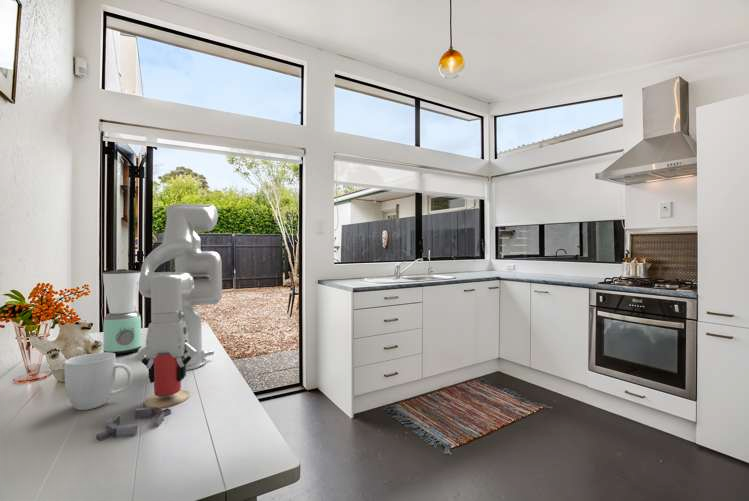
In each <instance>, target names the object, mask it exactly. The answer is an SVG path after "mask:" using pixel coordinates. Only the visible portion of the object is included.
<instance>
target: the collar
mask: <svg viewBox="0 0 749 501" xmlns="http://www.w3.org/2000/svg"><path fill="white" fill-rule="evenodd" d="M171 414H172V410H171V409H170V408H169V407H166V408H164V409H163V408H157V407H155V408H154V407H146V406H145V407H139V408H138V407H137V408H136V409H135V410H134V416H135V417H134V418H135V419H141V418H152V428H159V427H160V425H161V424H162V422H163V421H164V420H165V417H166V416H168V415H171ZM105 426H106V427H105V431H103V432H100V433H97V434H95V439H96V440H97V441H98V442H100V441H103V440H105V439H109V438H111V437H112V438H113V439H114V438H116V439H119V438H128V437H136V436H137V434H138V424H131V425H123V426H121V415H115V416H113V417H112V418H111V419H110V420H108V421H107V422H106V424H105Z"/></svg>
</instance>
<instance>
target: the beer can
mask: <svg viewBox="0 0 749 501" xmlns="http://www.w3.org/2000/svg"><path fill="white" fill-rule="evenodd" d="M157 354H158V355H157V356H156V358H155V359H154V382H153V393H154V394H153V395H156V396H160V397H163V396H170V395H173V394H176V393H177V392H179V391H180V390H182V380H181V381H177V368H178V367H179V364H178V362H177V360H176V358H173V357H172V356H171V355H170V353H157Z"/></svg>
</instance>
